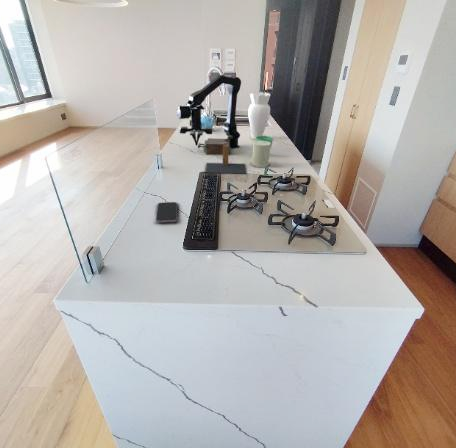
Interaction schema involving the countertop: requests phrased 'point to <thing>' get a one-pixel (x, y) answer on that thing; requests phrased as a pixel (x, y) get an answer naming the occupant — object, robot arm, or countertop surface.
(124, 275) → the countertop surface
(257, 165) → the can
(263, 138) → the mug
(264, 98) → the vase
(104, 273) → the countertop surface
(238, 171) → the mat
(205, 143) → the drawer
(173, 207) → the smartphone
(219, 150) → the cabinet
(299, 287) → the countertop surface
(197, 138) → the robot arm
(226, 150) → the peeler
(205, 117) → the teapot
